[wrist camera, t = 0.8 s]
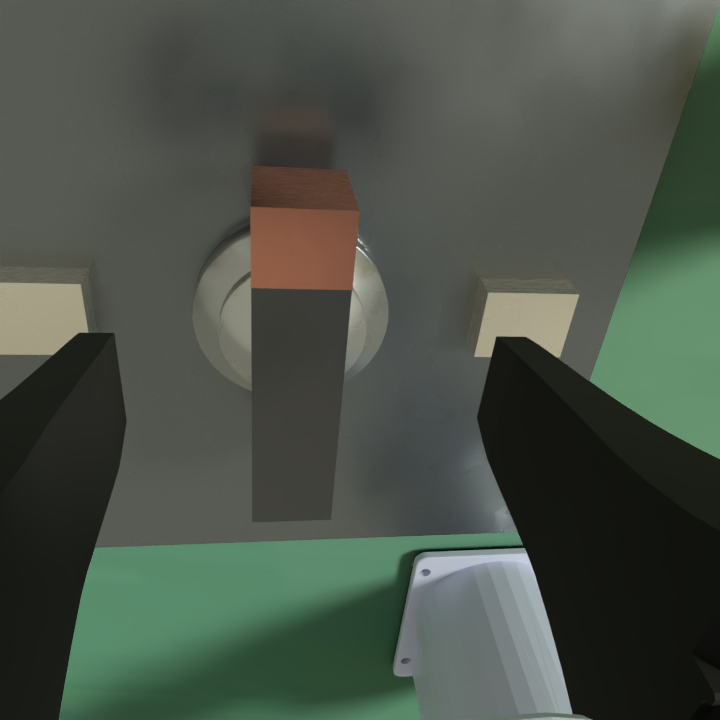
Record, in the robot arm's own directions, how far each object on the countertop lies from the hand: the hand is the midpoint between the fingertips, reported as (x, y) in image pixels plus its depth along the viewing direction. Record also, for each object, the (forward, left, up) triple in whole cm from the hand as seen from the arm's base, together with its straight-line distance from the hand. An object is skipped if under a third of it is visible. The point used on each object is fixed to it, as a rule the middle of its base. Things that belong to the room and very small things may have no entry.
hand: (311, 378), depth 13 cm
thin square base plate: (-3, 0, -9) cm, 10 cm away
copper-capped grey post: (-3, 0, -7) cm, 8 cm away
